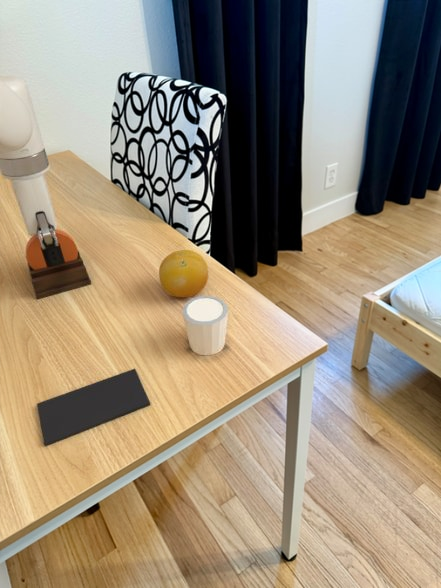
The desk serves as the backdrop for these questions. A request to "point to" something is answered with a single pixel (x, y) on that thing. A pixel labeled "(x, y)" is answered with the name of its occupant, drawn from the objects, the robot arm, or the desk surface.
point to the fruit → (183, 273)
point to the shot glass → (206, 324)
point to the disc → (35, 252)
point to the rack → (59, 278)
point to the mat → (91, 406)
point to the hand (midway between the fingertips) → (52, 252)
